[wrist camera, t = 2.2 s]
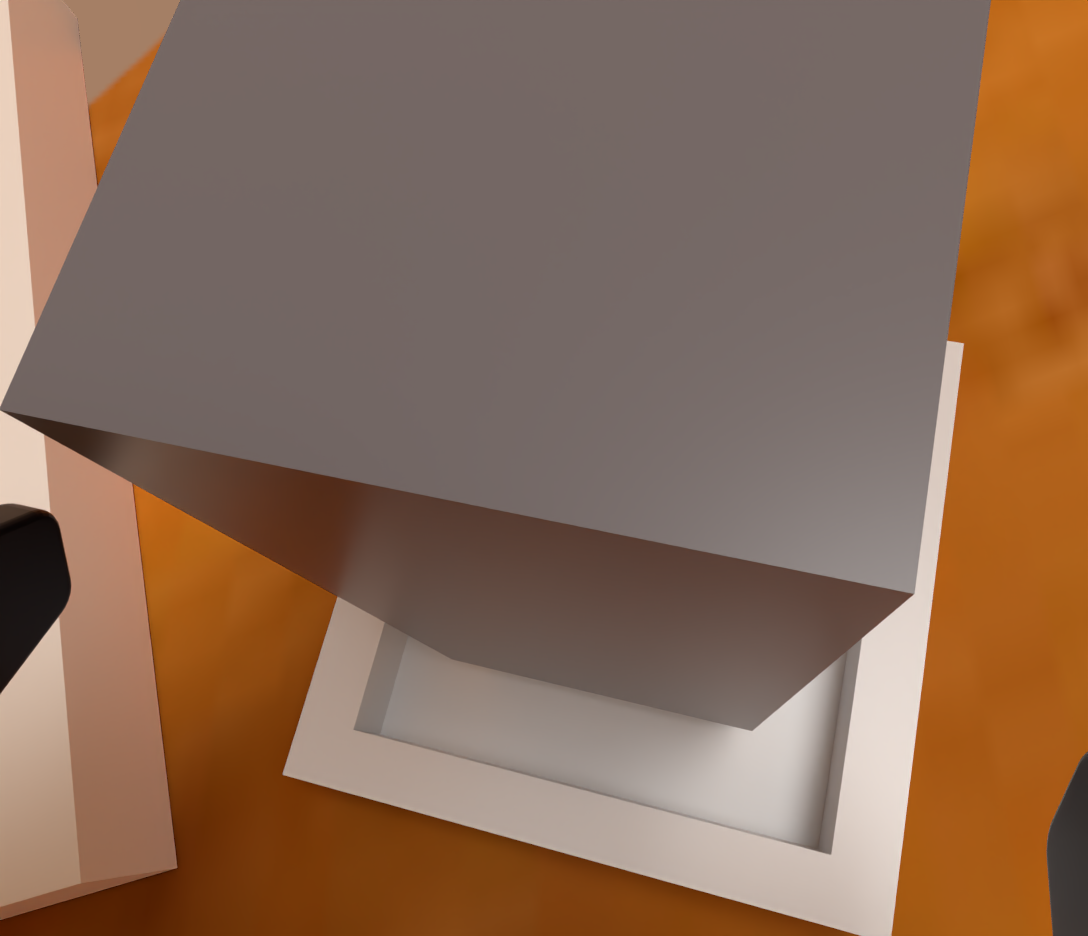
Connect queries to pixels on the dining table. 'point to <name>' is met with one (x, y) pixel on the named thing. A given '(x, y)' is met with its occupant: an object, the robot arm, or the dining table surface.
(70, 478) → the power strip
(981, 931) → the dining table surface
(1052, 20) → the dining table surface
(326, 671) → the tray
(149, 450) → the plug
